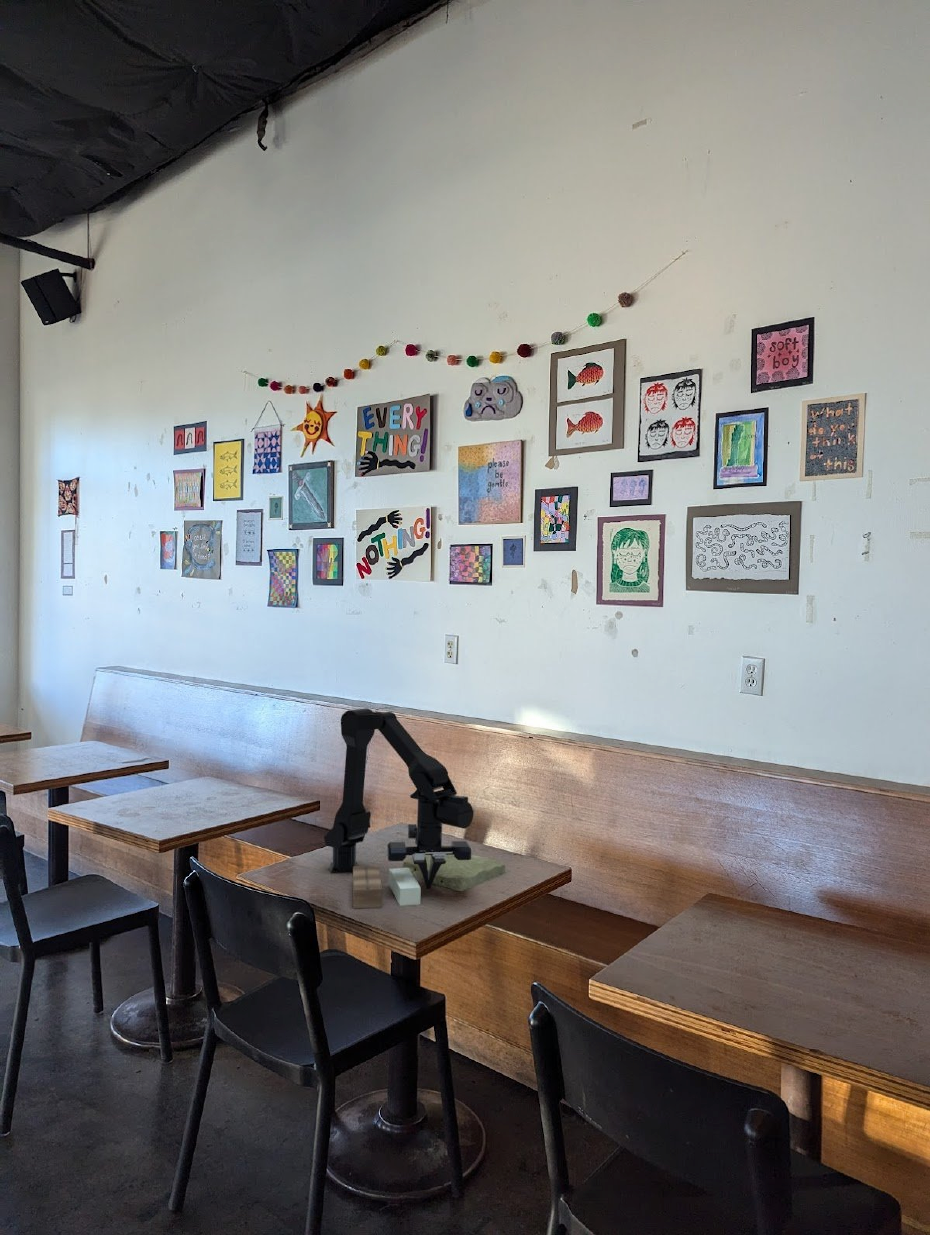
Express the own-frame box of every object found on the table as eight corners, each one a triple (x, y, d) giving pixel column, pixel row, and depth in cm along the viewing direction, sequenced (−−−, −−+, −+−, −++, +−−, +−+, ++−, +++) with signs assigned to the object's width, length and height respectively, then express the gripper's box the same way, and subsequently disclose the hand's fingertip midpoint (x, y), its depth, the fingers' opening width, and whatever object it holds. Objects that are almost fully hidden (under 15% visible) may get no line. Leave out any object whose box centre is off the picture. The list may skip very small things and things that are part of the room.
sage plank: (420, 905, 188) (420, 887, 188) (399, 907, 187) (400, 888, 186) (408, 884, 201) (408, 867, 201) (389, 885, 200) (389, 868, 200)
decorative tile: (443, 858, 223) (443, 845, 223) (506, 875, 211) (507, 860, 211) (394, 875, 208) (395, 861, 208) (460, 894, 196) (460, 879, 196)
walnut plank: (352, 883, 200) (353, 865, 200) (378, 882, 201) (378, 865, 201) (353, 908, 184) (353, 889, 184) (381, 907, 185) (381, 888, 185)
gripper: (465, 811, 204) (463, 876, 204) (386, 811, 201) (384, 877, 201) (472, 823, 193) (470, 892, 193) (389, 824, 190) (387, 894, 190)
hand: (427, 888), depth 195 cm, fingers closed
